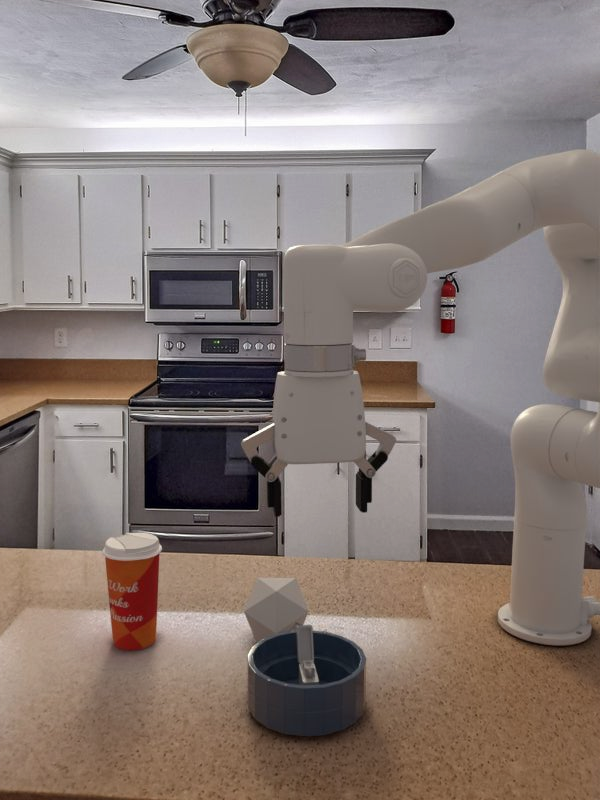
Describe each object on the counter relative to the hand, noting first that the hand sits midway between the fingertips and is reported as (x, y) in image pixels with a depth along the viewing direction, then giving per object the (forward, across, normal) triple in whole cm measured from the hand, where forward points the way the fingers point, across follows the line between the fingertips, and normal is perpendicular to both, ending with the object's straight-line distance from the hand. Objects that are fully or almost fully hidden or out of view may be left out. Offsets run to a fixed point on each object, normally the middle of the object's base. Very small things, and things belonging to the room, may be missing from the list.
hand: (319, 511), depth 83 cm
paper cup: (+22, +23, -16) cm, 35 cm away
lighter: (+22, +2, +3) cm, 22 cm away
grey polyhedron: (+22, +4, -14) cm, 27 cm away
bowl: (+22, +2, +3) cm, 22 cm away
